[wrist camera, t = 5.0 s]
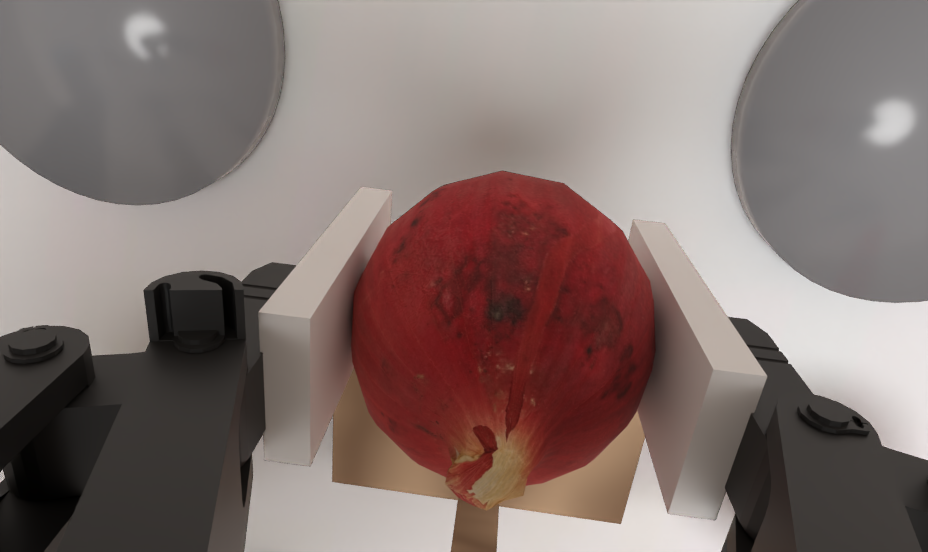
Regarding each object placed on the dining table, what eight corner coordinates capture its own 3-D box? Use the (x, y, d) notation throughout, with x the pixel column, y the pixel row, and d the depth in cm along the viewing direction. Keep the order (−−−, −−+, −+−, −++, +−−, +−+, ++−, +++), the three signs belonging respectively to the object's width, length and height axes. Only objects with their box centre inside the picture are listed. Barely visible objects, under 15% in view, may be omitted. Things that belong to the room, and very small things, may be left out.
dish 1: (-7, 174, 27) (-36, 184, 25) (-89, -193, 21) (-131, -206, 20) (288, 212, 26) (275, 224, 25) (280, -155, 21) (263, -166, 19)
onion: (404, 117, 14) (293, 240, 7) (649, 162, 14) (793, 330, 7) (377, 334, 17) (274, 594, 9) (588, 371, 17) (648, 659, 9)
